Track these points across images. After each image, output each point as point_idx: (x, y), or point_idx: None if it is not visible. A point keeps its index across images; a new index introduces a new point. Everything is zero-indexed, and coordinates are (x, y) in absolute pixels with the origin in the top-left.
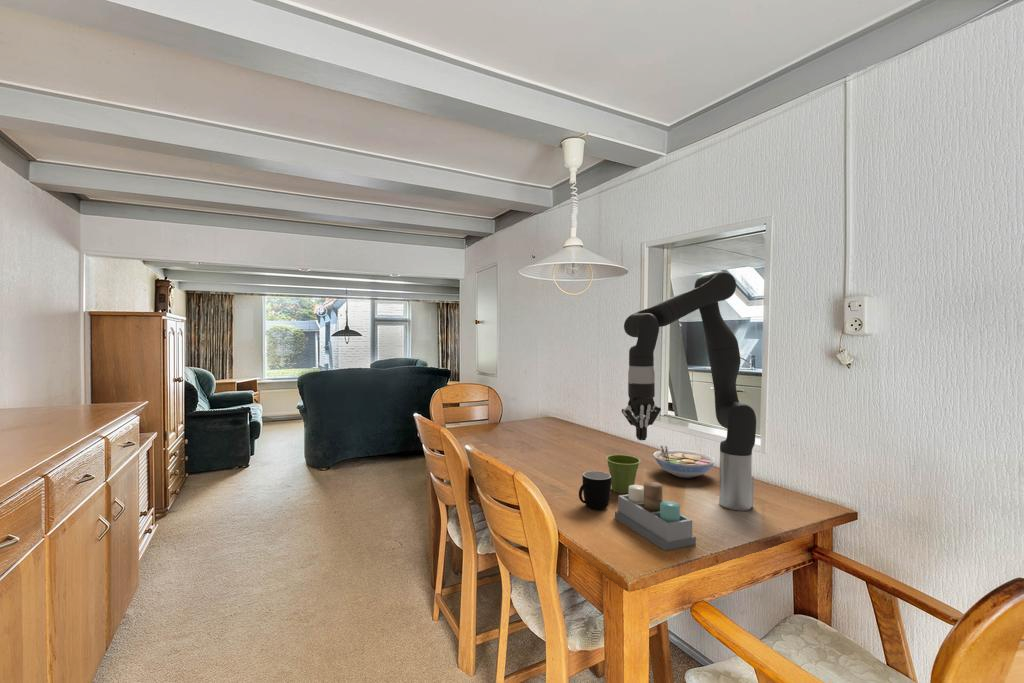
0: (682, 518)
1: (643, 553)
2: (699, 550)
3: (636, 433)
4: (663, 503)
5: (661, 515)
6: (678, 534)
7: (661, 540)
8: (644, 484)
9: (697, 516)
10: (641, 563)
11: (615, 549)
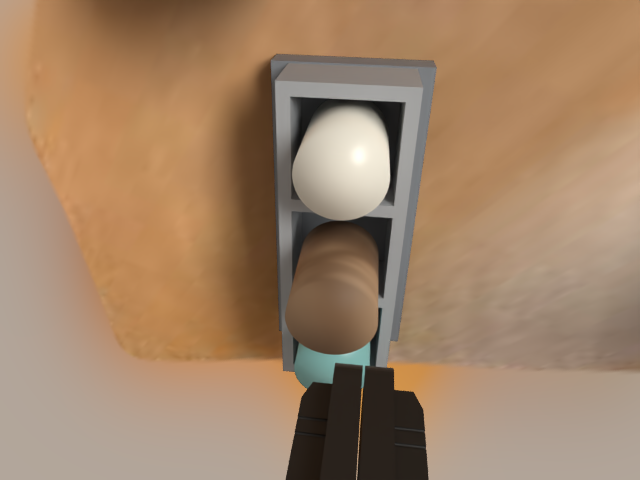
0: (377, 348)
1: (218, 303)
2: None
3: (297, 430)
4: (312, 357)
5: None
6: None
7: (280, 318)
8: (293, 300)
9: (625, 185)
10: (184, 332)
11: (151, 259)
